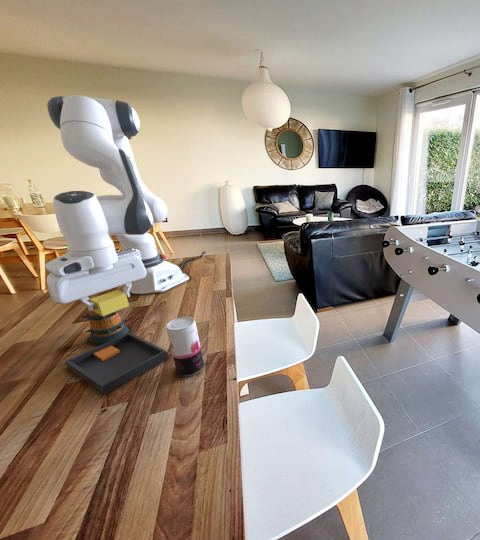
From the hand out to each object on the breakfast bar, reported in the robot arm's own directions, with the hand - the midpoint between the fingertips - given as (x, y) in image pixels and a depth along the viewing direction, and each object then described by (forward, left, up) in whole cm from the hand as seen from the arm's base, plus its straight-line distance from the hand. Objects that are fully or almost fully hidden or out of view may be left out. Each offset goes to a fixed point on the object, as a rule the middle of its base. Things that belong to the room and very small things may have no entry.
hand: (110, 303), depth 79 cm
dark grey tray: (+4, +4, -16) cm, 17 cm away
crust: (+4, -2, -16) cm, 16 cm away
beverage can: (-4, +23, -16) cm, 29 cm away
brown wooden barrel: (-2, -14, -16) cm, 21 cm away
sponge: (0, 0, -2) cm, 2 cm away
